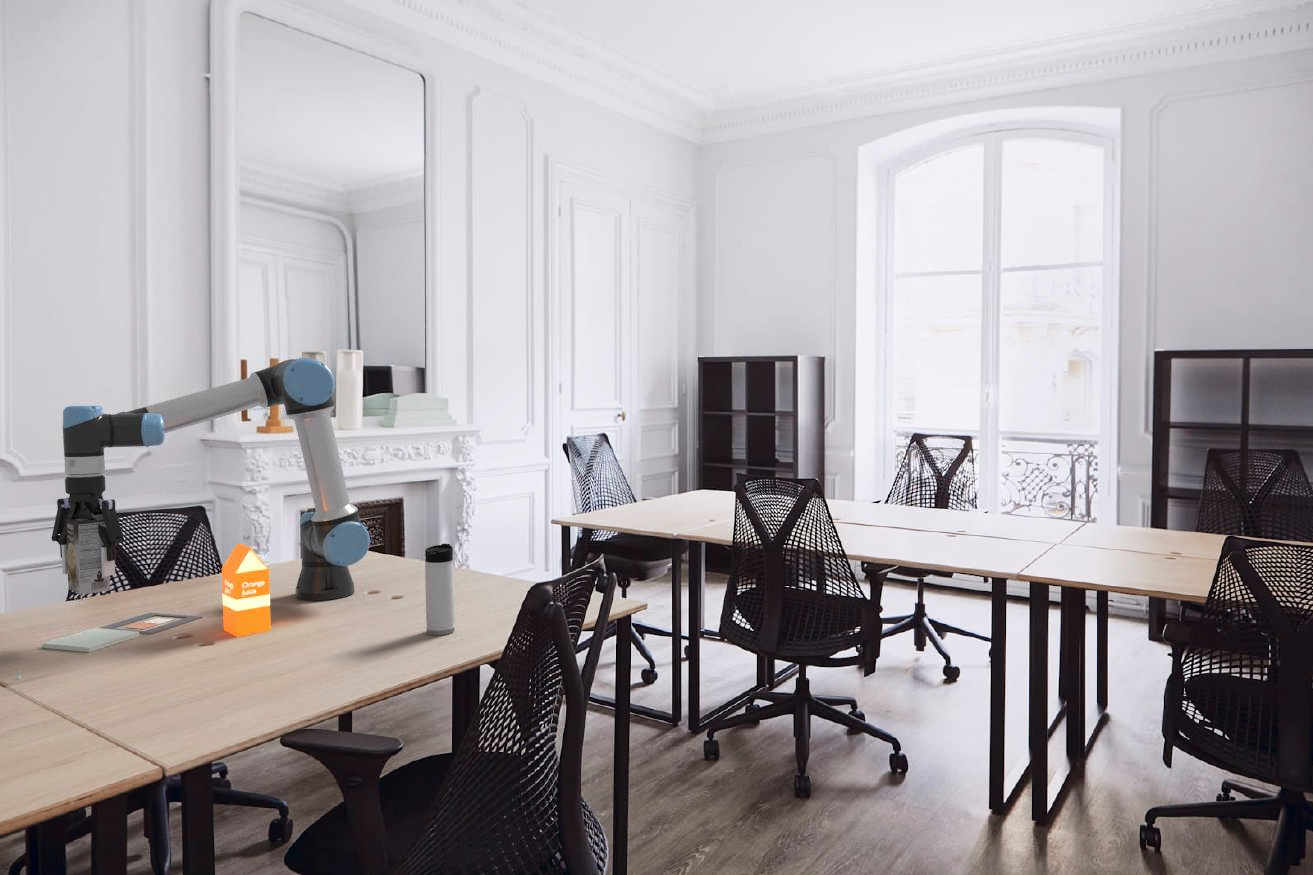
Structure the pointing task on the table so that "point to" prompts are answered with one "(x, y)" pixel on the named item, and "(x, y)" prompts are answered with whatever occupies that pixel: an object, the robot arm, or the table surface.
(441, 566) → the travel mug
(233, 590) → the orange juice
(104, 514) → the robot arm
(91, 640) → the pad
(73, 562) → the coffee box
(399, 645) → the table surface
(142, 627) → the tile
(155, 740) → the table surface
